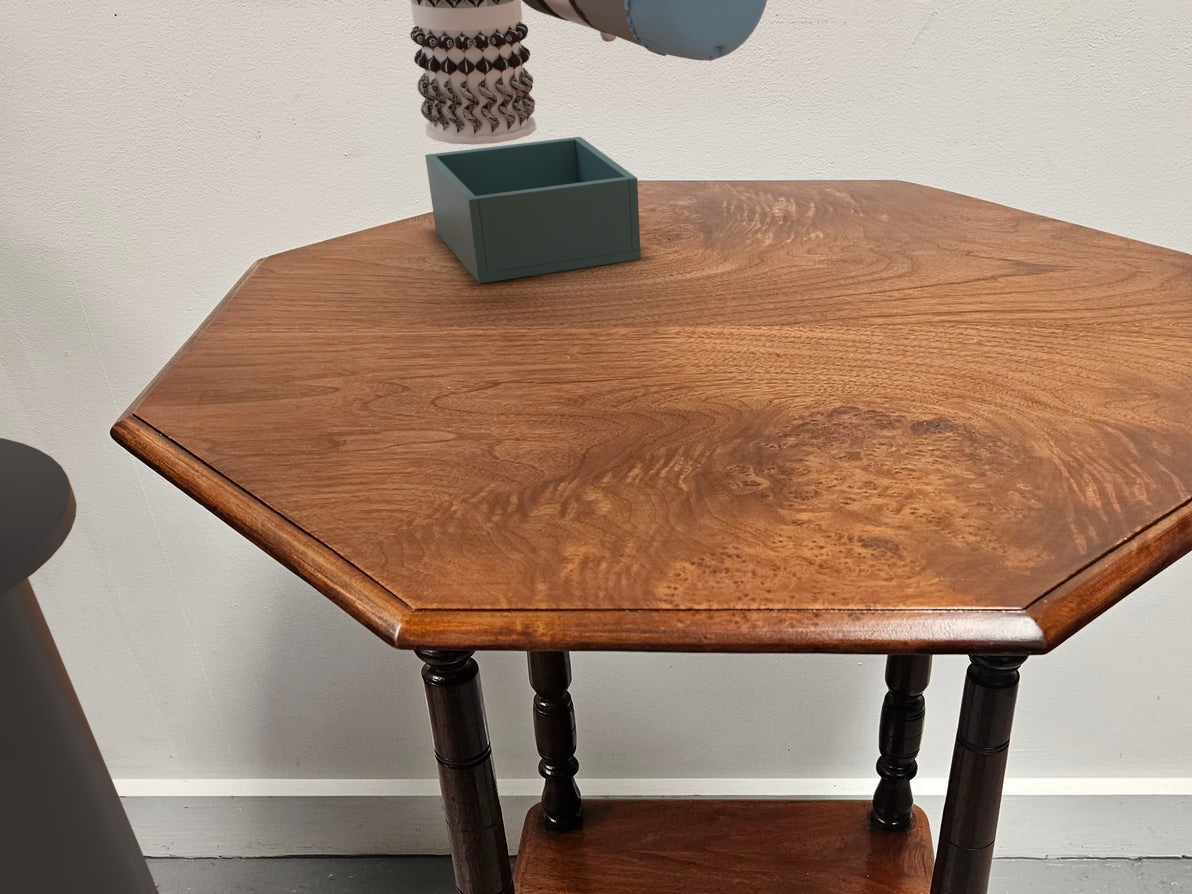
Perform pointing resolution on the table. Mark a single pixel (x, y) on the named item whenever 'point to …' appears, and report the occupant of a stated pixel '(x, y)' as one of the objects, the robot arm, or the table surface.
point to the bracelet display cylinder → (473, 70)
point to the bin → (534, 208)
